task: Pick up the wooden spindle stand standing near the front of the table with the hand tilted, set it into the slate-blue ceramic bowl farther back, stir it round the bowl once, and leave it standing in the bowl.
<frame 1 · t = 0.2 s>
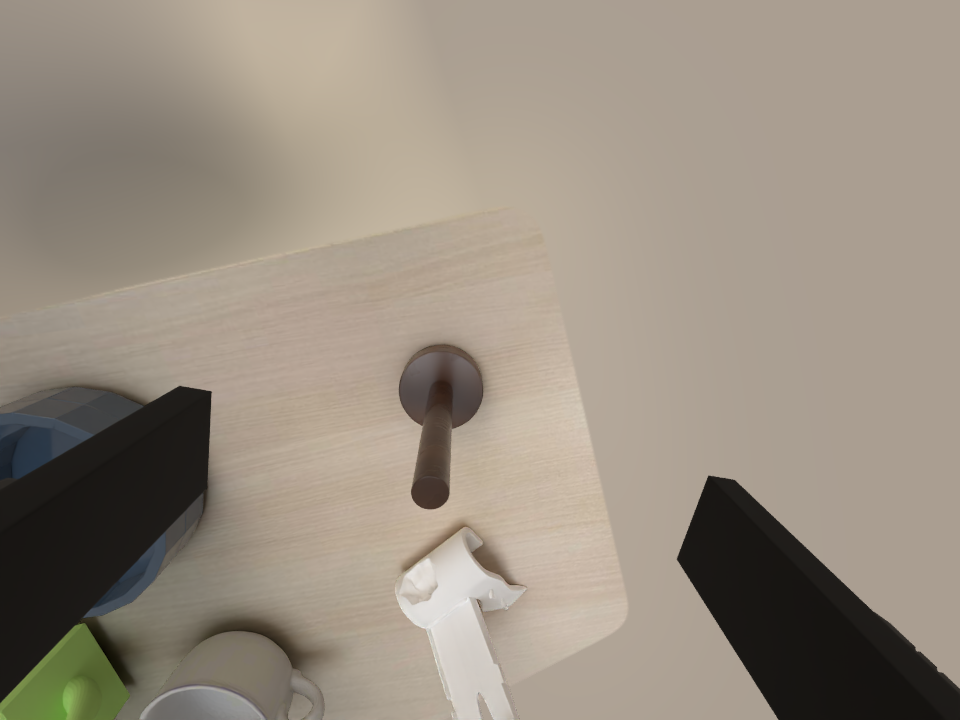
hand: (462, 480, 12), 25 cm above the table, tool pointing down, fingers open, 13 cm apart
teapot: (66, 660, 44), on the table
wooden spindle stand: (442, 383, 37), on the table
teacup: (265, 655, 44), on the table
mixing bowl: (104, 479, 38), on the table
plastic part: (463, 574, 43), on the table
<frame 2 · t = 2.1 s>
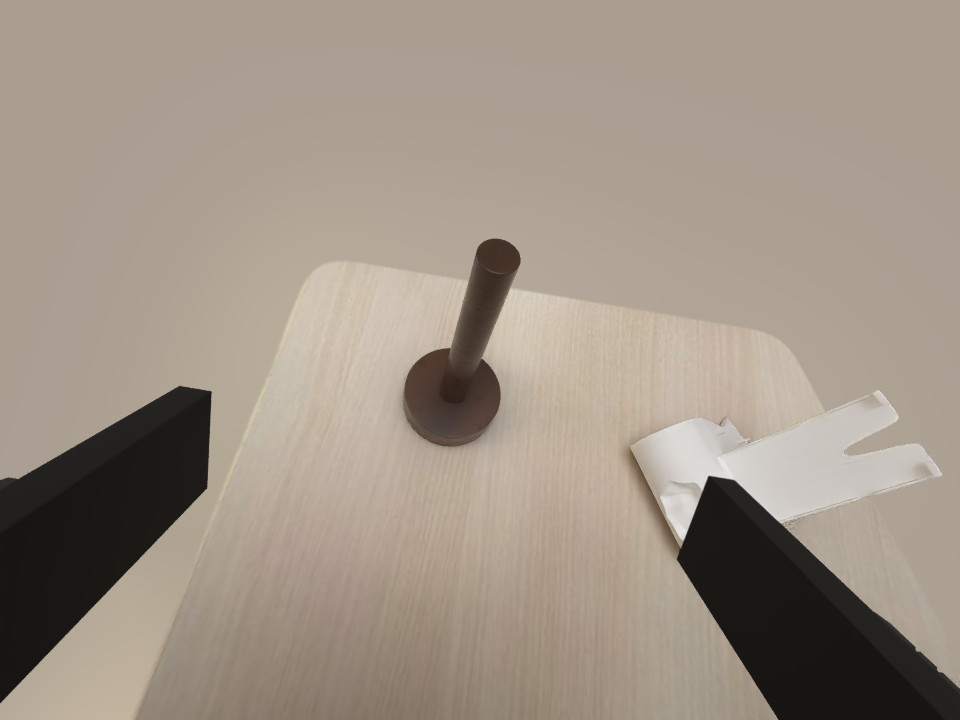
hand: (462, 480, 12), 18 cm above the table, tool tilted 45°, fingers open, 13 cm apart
wooden spindle stand: (449, 401, 33), on the table
plastic part: (697, 481, 34), on the table
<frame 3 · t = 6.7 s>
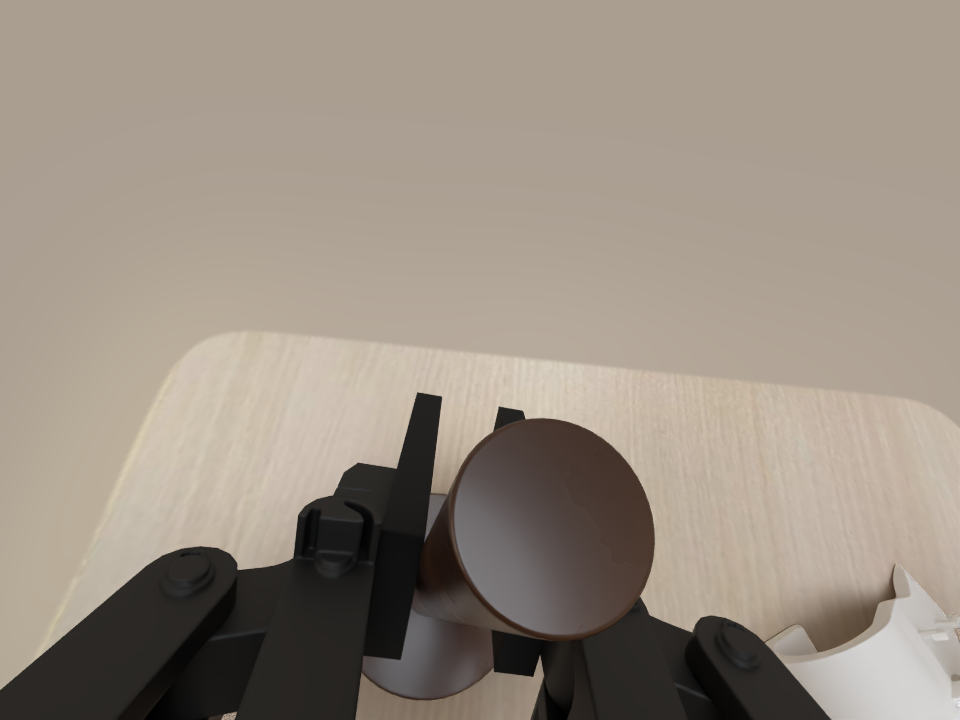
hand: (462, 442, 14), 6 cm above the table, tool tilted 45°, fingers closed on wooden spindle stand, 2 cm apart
wooden spindle stand: (427, 589, 18), on the table, touching gripper
plastic part: (878, 702, 19), on the table
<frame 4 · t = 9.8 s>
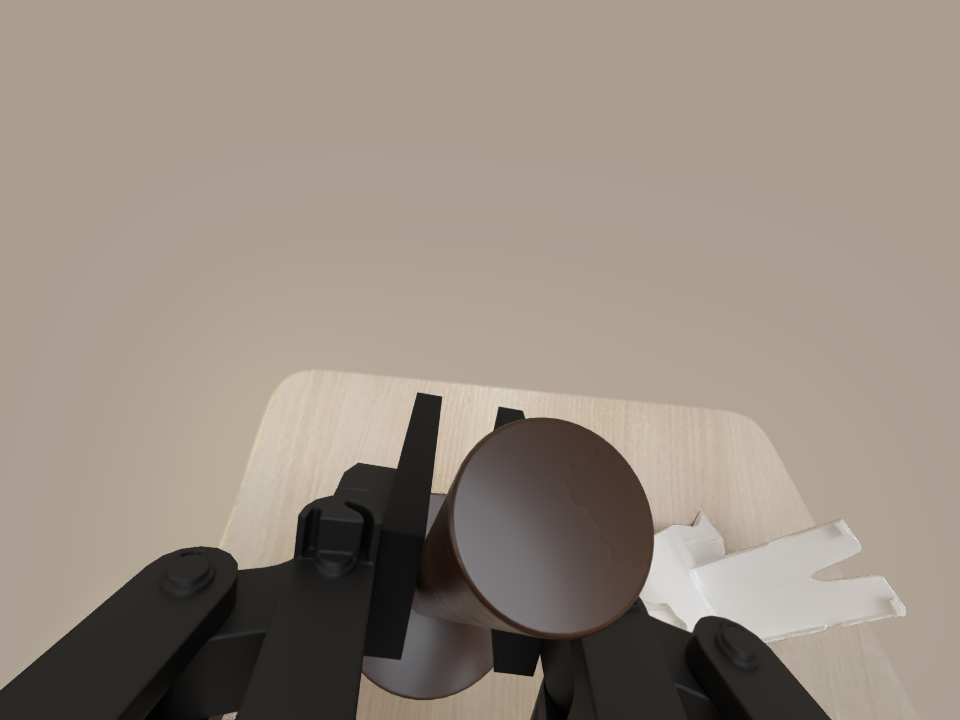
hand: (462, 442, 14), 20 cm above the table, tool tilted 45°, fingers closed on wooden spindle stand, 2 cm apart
wooden spindle stand: (427, 589, 18), point 14 cm above the table, touching gripper
plastic part: (673, 585, 33), on the table
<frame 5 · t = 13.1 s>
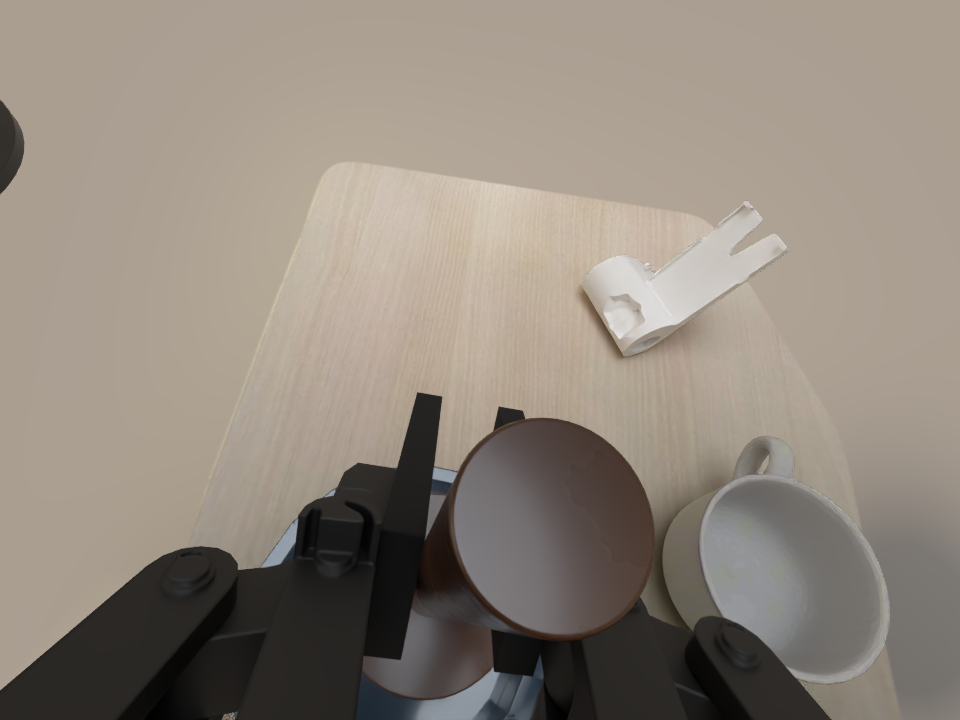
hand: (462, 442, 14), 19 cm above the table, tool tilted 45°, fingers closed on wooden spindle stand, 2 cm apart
wooden spindle stand: (427, 589, 18), point 13 cm above the table, touching gripper
teacup: (714, 554, 34), on the table
mixing bowl: (410, 627, 28), on the table
plastic part: (636, 313, 43), on the table
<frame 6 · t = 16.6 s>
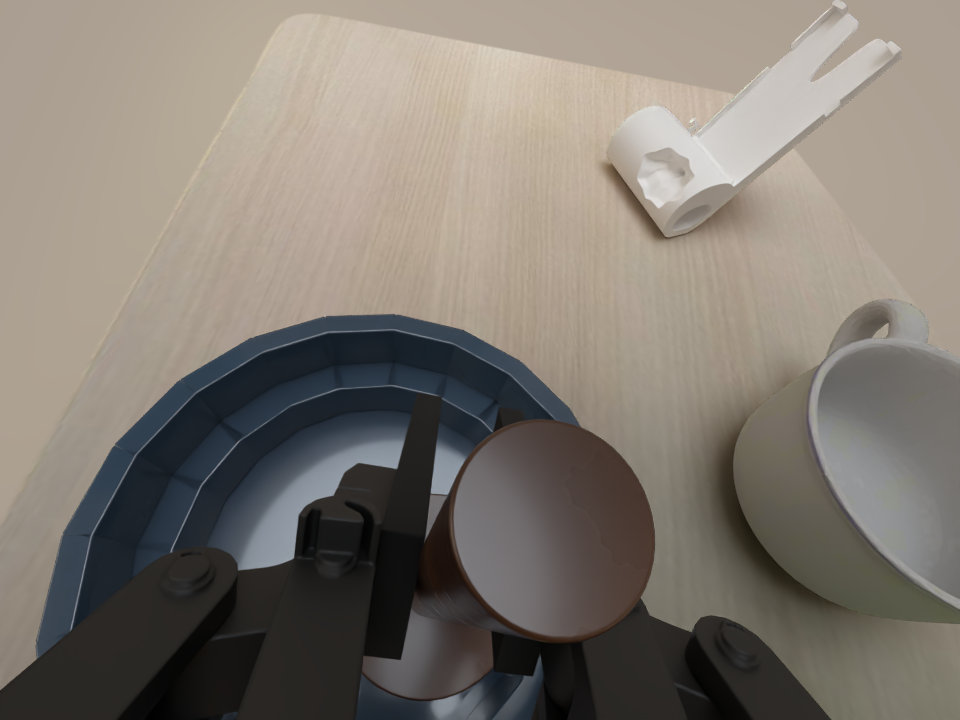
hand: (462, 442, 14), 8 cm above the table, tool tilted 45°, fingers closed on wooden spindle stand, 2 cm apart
wooden spindle stand: (427, 589, 18), point 2 cm above the table, touching gripper
teacup: (797, 476, 25), on the table
mixing bowl: (375, 561, 19), on the table
plastic part: (675, 193, 34), on the table
when the fingers open (7 cm above the table, at t = 19.4 s): wooden spindle stand stays where it is, resting on mixing bowl.
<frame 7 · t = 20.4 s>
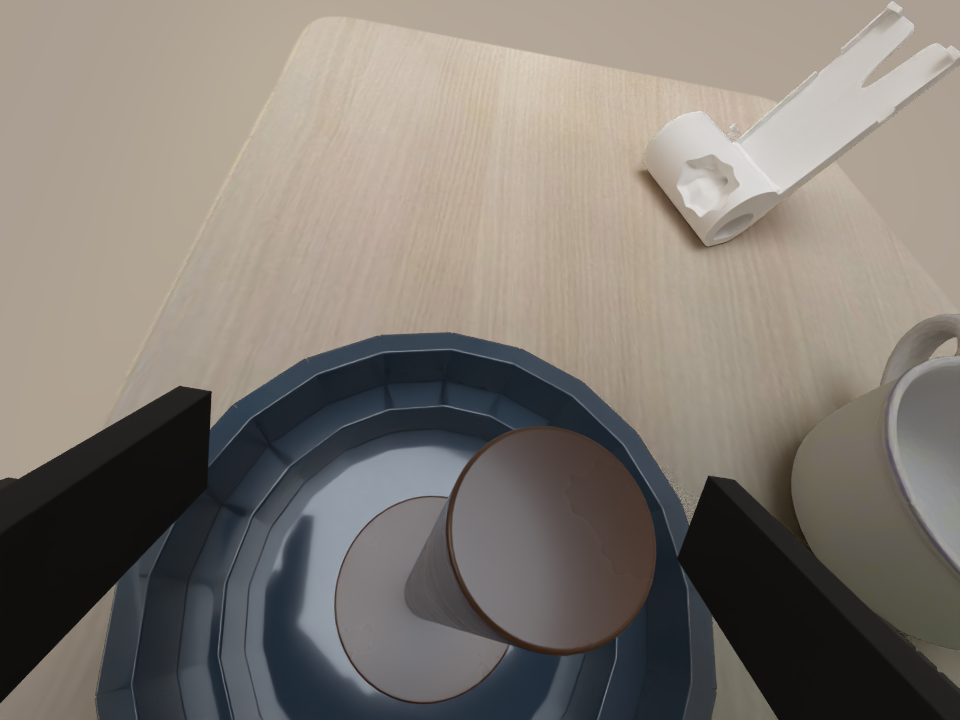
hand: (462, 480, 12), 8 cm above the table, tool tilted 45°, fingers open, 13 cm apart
wooden spindle stand: (427, 592, 18), point 1 cm above the table, touching mixing bowl
teacup: (852, 495, 24), on the table
mixing bowl: (426, 590, 18), on the table
plastic part: (712, 200, 33), on the table
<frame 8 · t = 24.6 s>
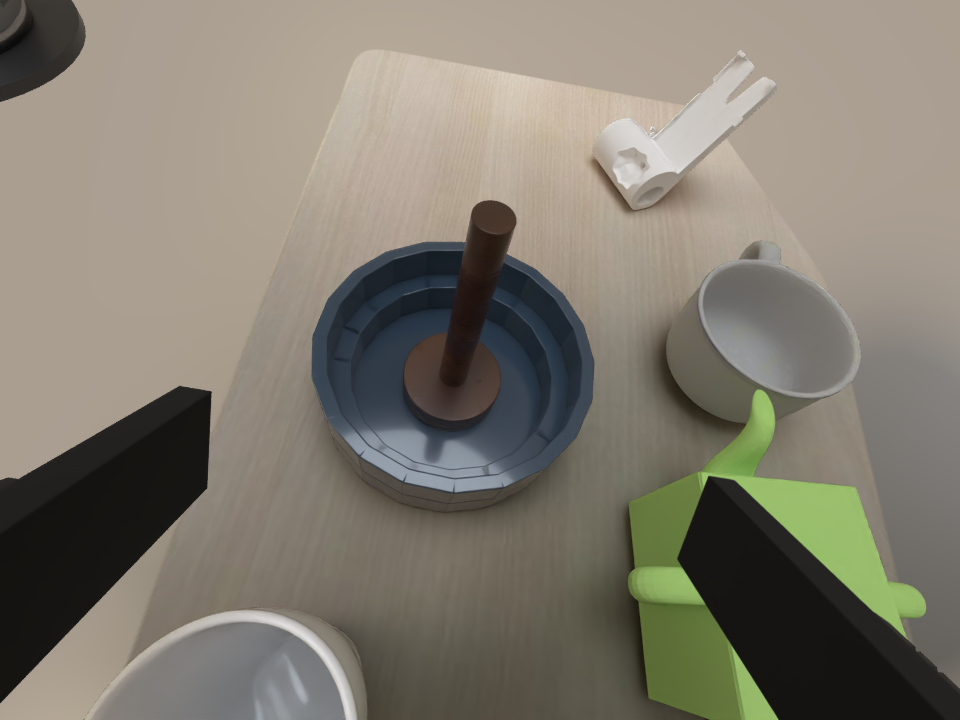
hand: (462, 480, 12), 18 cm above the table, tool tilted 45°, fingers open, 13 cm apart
teapot: (693, 596, 29), on the table
drinking glass: (310, 682, 24), on the table
wooden spindle stand: (449, 387, 32), point 1 cm above the table, touching mixing bowl
teacup: (712, 359, 38), on the table
mixing bowl: (448, 390, 33), on the table
plastic part: (642, 180, 48), on the table
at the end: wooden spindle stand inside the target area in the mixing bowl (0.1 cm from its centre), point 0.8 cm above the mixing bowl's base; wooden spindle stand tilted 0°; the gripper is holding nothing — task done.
